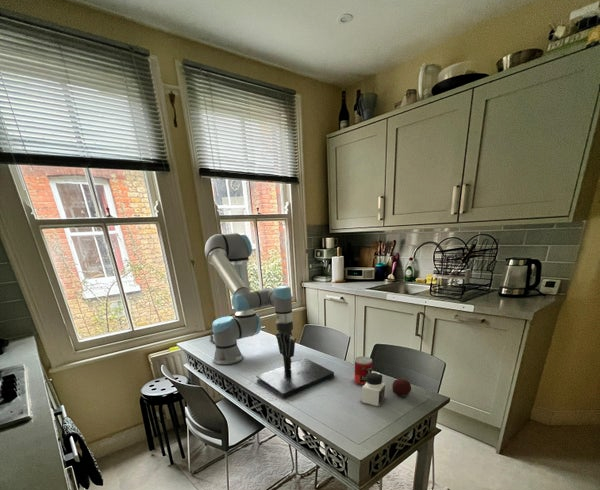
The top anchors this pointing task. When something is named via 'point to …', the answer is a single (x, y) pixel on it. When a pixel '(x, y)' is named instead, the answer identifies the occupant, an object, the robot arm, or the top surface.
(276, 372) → the laptop screen
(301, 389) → the laptop
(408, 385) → the red apple
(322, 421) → the top surface
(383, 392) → the medicine bottle
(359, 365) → the canned food
